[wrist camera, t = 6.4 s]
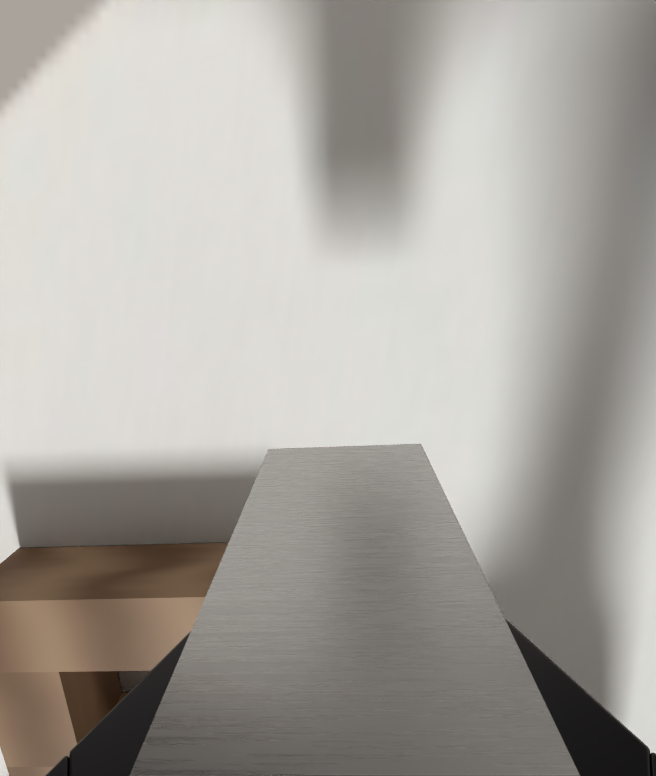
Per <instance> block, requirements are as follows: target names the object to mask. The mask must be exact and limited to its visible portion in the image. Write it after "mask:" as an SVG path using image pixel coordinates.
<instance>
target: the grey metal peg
mask: <svg viewBox="0 0 656 776" xmlns="http://www.w3.org/2000/svg"><path fill="white" fill-rule="evenodd" d="M129 776H580V775H579V772H578V770H577V768H576V766H575V764H574V762H573V760H572V758H571V756H570V754H569V752H568V750H567V747H566V745H565V743H564V741H563V739H562V737H561V735H560V733H559V731H558V729H557V727H556V724H555V722H554V720H553V718H552V716H551V714H550V712H549V710H548V708H547V706H546V704H545V702H544V699H543V697H542V695H541V693H540V691H539V689H538V687H537V685H536V683H535V681H534V679H533V677H532V674H531V672H530V670H529V668H528V666H527V664H526V662H525V660H524V658H523V656H522V654H521V651H520V649H519V647H518V645H517V643H516V641H515V639H514V637H513V635H512V633H511V631H510V629H509V626H508V624H507V622H506V620H505V618H504V616H503V614H502V612H501V610H500V608H499V606H498V603H497V601H496V599H495V597H494V595H493V593H492V591H491V589H490V587H489V585H488V583H487V581H486V578H485V576H484V574H483V572H482V570H481V568H480V566H479V564H478V562H477V560H476V558H475V556H474V553H473V551H472V549H471V547H470V545H469V543H468V541H467V539H466V537H465V535H464V533H463V530H462V528H461V526H460V524H459V522H458V520H457V518H456V516H455V514H454V512H453V510H452V508H451V505H450V503H449V501H448V499H447V497H446V495H445V493H444V491H443V489H442V487H441V485H440V483H439V480H438V478H437V476H436V474H435V472H434V470H433V468H432V466H431V464H430V462H429V460H428V457H427V455H426V453H425V451H424V449H423V447H422V445H421V444H400V445H371V446H343V447H314V448H286V449H268V451H267V454H266V456H265V459H264V461H263V463H262V466H261V468H260V470H259V473H258V475H257V477H256V480H255V482H254V484H253V487H252V489H251V491H250V494H249V496H248V498H247V501H246V503H245V505H244V508H243V510H242V513H241V515H240V517H239V520H238V522H237V524H236V527H235V529H234V531H233V534H232V536H231V538H230V541H229V543H228V545H227V548H226V550H225V552H224V555H223V557H222V559H221V562H220V564H219V567H218V569H217V571H216V574H215V576H214V578H213V581H212V583H211V585H210V588H209V590H208V592H207V595H206V597H205V599H204V602H203V604H202V606H201V609H200V611H199V613H198V616H197V618H196V621H195V623H194V625H193V628H192V630H191V632H190V635H189V637H188V639H187V642H186V644H185V646H184V649H183V651H182V653H181V656H180V658H179V660H178V663H177V665H176V667H175V670H174V672H173V675H172V677H171V679H170V682H169V684H168V686H167V689H166V691H165V693H164V696H163V698H162V700H161V703H160V705H159V707H158V710H157V712H156V714H155V717H154V719H153V721H152V724H151V726H150V729H149V731H148V733H147V736H146V738H145V740H144V743H143V745H142V747H141V750H140V752H139V754H138V757H137V759H136V761H135V764H134V766H133V768H132V771H131V773H130V775H129Z"/></svg>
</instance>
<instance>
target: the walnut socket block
mask: <svg viewBox="0 0 656 776" xmlns="http://www.w3.org/2000/svg"><path fill="white" fill-rule="evenodd" d="M227 545H228V543H196V544H157V545H119V546H80V547H42V548H19V549H18V550H16V551H15V552H14V553H13V554H12V555H10V556H9V557H8V558H7V559H6V560H4V561H3V562H2V563H1V564H0V747H1V750H2V753H3V757H4V760H5V763H6V766H7V769H8V772H9V776H45V775H46V774H47V773H48V772H49V771H50V770H51V769H52V768H53V767H54V766H55V765H56V764H57V763H58V762H59V761H60V760H61V759H62V758H63V757H65V756H68V757H69V752H70V751H71V750H72V749H73V748H74V747H75V746H76V745H77V744H78V743H79V742H80V741H81V740H82V739H83V738H84V737H85V736H86V735H87V734H88V733H89V732H90V731H91V730H92V729H93V728H94V727H95V726H96V725H97V724H98V723H99V722H100V721H101V720H102V719H103V718H104V717H105V716H106V715H107V714H108V713H109V712H110V711H111V710H112V709H113V708H114V707H115V706H116V705H117V704H118V703H119V702H120V701H121V700H122V699H123V698H124V697H125V696H126V695H127V694H128V693H122V689H121V684H120V680H119V675H118V671H151V670H152V669H153V668H154V667H155V666H156V665H157V664H158V663H159V662H160V661H161V660H162V659H163V658H164V657H165V656H166V655H167V654H168V653H169V652H170V651H171V650H172V649H173V648H174V647H175V646H176V645H177V644H178V643H179V642H180V641H181V640H182V639H183V638H184V637H185V636H186V635H187V634H188V633H189V632H190V631H191V630H192V628H193V625H194V623H195V621H196V618H197V616H198V613H199V611H200V609H201V606H202V604H203V602H204V599H205V597H206V595H207V592H208V590H209V588H210V585H211V583H212V581H213V578H214V576H215V574H216V571H217V569H218V567H219V564H220V562H221V559H222V557H223V555H224V552H225V550H226V548H227Z"/></svg>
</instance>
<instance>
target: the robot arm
mask: <svg viewBox="0 0 656 776" xmlns="http://www.w3.org/2000/svg"><path fill="white" fill-rule="evenodd" d="M505 620H506V619H505ZM506 622H507V624H508V626H509V629H510V631H511V633H512V635H513V637H514V639H515V641H516V643H517V645H518V647H519V649H520V651H521V654H522V656H523V658H524V660H525V662H526V664H527V666H528V668H529V670H530V672H531V674H532V677H533V679H534V681H535V683H536V685H537V687H538V689H539V691H540V693H541V695H542V697H543V699H544V702H545V704H546V706H547V708H548V710H549V712H550V714H551V716H552V718H553V720H554V722H555V724H556V727H557V729H558V731H559V733H560V735H561V737H562V739H563V741H564V743H565V745H566V747H567V750H568V752H569V754H570V756H571V758H572V760H573V762H574V764H575V766H576V768H577V770H578V772H579V775H580V776H656V754H655V753H651V754H650V750H649V748H648V747H647V746H646V745H645V744H644V743H643V742H642V741H641V740H640V739H638V738H637V737H636V736H635V735H634V734H633V733H632V732H631V731H630V730H628V729H627V728H626V727H625V726H624V725H623V724H622V723H621V722H620V721H618V720H617V719H616V718H615V717H614V716H613V715H612V714H611V713H610V712H608V711H607V710H606V709H605V708H604V707H603V706H602V705H601V704H600V703H598V702H597V701H596V700H595V699H594V698H593V697H592V696H591V695H590V694H588V693H587V692H586V691H585V690H584V689H583V688H582V687H581V686H580V685H578V684H577V683H576V682H575V681H574V680H573V679H572V678H571V677H570V676H568V675H567V674H566V673H565V672H564V671H563V670H562V669H561V668H560V667H558V666H557V665H556V664H555V663H554V662H553V661H552V660H551V659H549V658H548V657H547V656H546V655H545V654H544V653H543V652H542V651H541V650H539V649H538V648H537V647H536V646H535V645H534V644H533V643H532V642H531V641H529V640H528V639H527V638H526V637H525V636H524V635H523V634H522V633H521V632H519V631H518V630H517V629H516V628H515V627H514V626H513V625H512V624H511V623H509V622H508V621H507V620H506ZM190 632H191V631H190ZM190 632H189V633H188V634H187V635H186V636H185V637H184V638H183V639H182V640H181V641H180V642H179V643H178V644H177V645H176V646H175V647H174V648H173V649H172V650H171V651H170V652H169V653H168V654H167V655H166V656H165V657H164V658H163V659H162V660H161V661H160V662H159V663H158V664H157V665H156V666H155V667H154V668H153V669H152V670H151V671H150V672H149V673H148V674H147V675H146V676H145V677H144V678H143V679H142V680H141V681H140V682H139V683H138V684H137V685H136V686H135V687H134V688H133V689H132V690H131V691H130V692H129V693H128V694H127V695H126V696H125V697H124V698H123V699H122V700H121V701H120V702H119V703H118V704H117V705H116V706H115V707H114V708H113V709H112V710H111V711H110V712H109V713H108V714H107V715H106V716H105V717H104V718H103V719H102V720H101V721H100V722H99V723H98V724H97V725H96V726H95V727H94V728H93V729H92V730H91V731H90V732H89V733H88V734H87V735H86V736H85V737H84V738H83V739H82V740H81V741H80V742H79V743H78V744H77V745H76V746H75V747H74V748H73V749H72V750H71V751H70V752H69V757H68V756H65V757H63V758H62V759H61V760H60V761H59V762H58V763H57V764H56V765H55V766H54V767H53V768H52V769H51V770H50V771H49V772H48V773H47V774H46V775H45V776H129V775H130V773H131V771H132V768H133V766H134V764H135V761H136V759H137V757H138V754H139V752H140V750H141V747H142V745H143V743H144V740H145V738H146V736H147V733H148V731H149V729H150V726H151V724H152V721H153V719H154V717H155V714H156V712H157V710H158V707H159V705H160V703H161V700H162V698H163V696H164V693H165V691H166V689H167V686H168V684H169V682H170V679H171V677H172V675H173V672H174V670H175V667H176V665H177V663H178V660H179V658H180V656H181V653H182V651H183V649H184V646H185V644H186V642H187V639H188V637H189V635H190Z"/></svg>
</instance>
